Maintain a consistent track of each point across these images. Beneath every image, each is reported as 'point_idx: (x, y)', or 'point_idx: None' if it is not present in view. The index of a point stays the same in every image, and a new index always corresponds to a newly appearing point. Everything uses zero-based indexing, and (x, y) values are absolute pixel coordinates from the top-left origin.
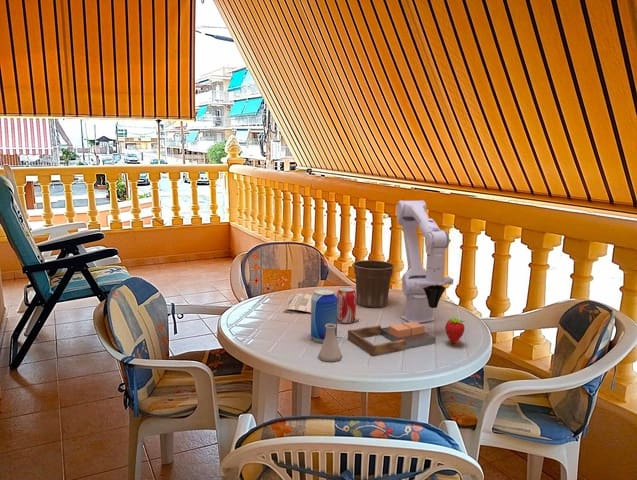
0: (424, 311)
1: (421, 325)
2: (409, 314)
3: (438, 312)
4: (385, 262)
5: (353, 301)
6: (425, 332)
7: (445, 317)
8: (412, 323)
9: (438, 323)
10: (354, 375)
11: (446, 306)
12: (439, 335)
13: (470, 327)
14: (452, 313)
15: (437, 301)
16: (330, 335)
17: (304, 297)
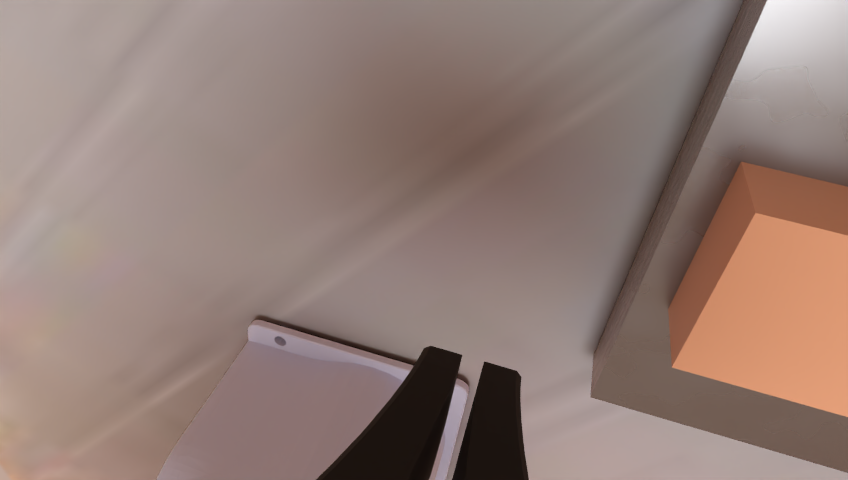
0: (311, 427)
1: (768, 251)
2: (432, 476)
3: (117, 373)
4: None
5: None
6: (708, 163)
7: (124, 298)
8: (780, 355)
9: (259, 267)
10: None
11: (7, 388)
12: (487, 84)
13: (43, 29)
14: (30, 306)
15: (408, 436)
16: None
17: None
